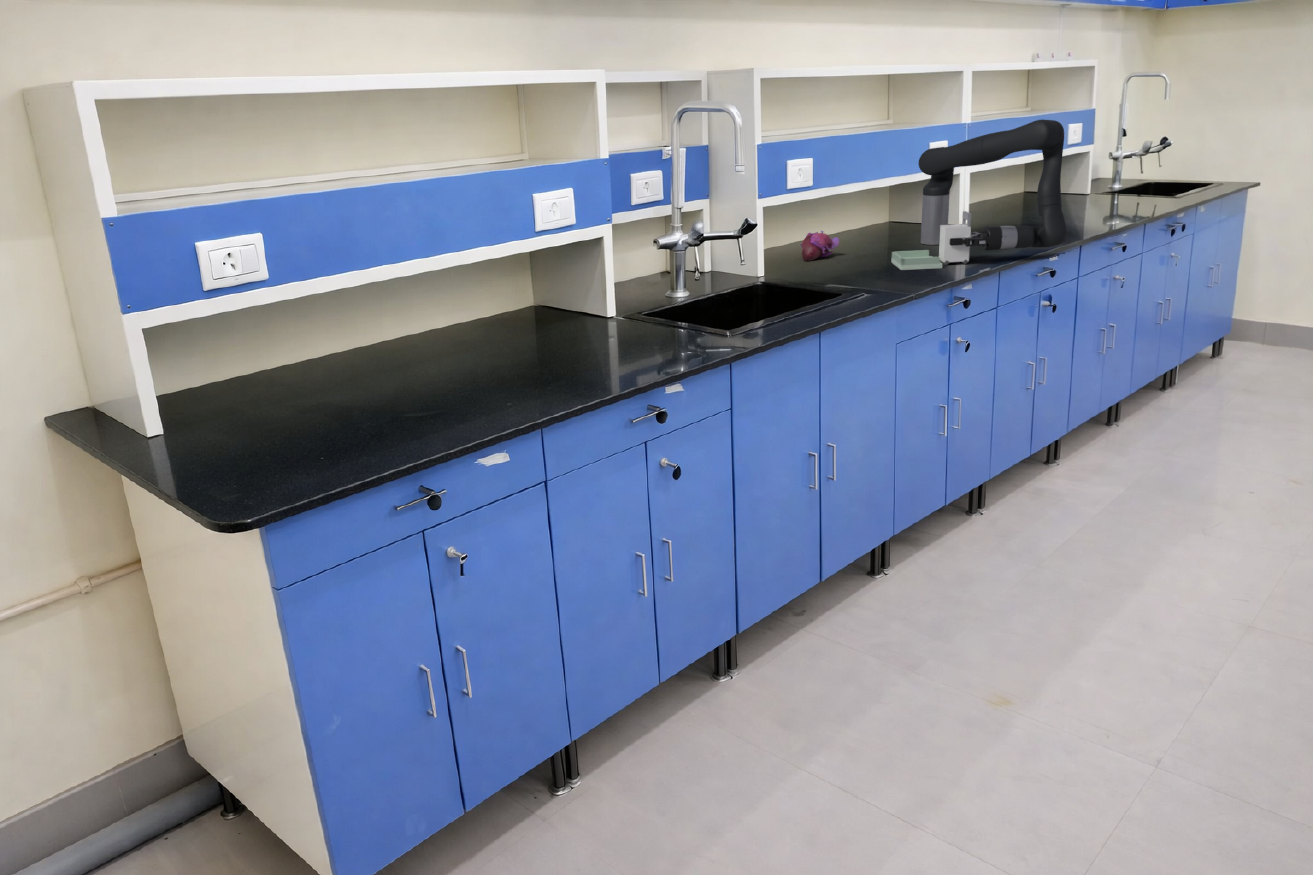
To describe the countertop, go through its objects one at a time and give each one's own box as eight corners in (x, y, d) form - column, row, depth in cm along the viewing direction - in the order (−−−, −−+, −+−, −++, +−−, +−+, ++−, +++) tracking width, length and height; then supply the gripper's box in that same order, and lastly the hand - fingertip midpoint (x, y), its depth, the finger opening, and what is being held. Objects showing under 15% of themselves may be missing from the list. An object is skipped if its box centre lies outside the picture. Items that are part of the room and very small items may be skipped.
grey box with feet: (938, 262, 319) (940, 212, 314) (963, 261, 319) (965, 211, 314) (943, 265, 313) (946, 215, 308) (968, 264, 313) (971, 213, 308)
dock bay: (891, 262, 323) (891, 251, 322) (930, 260, 323) (931, 249, 322) (901, 270, 310) (901, 259, 309) (942, 268, 310) (942, 257, 309)
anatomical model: (806, 261, 330) (847, 251, 332) (800, 234, 329) (840, 223, 331) (795, 265, 341) (834, 255, 344) (788, 239, 340) (827, 228, 343)
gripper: (993, 223, 319) (941, 225, 319) (1008, 229, 305) (954, 232, 306) (991, 246, 321) (940, 248, 322) (1006, 253, 308) (952, 256, 308)
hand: (947, 240), depth 314 cm, fingers closed on grey box with feet, 6 cm apart
